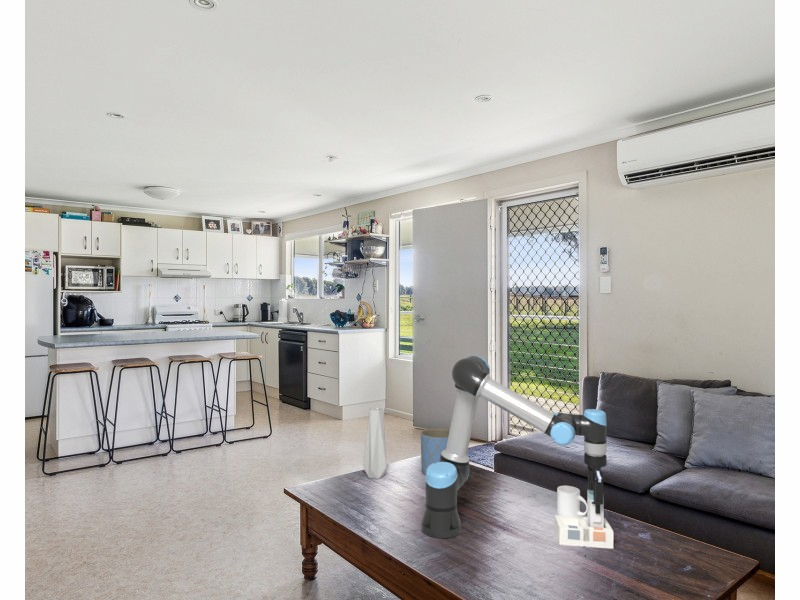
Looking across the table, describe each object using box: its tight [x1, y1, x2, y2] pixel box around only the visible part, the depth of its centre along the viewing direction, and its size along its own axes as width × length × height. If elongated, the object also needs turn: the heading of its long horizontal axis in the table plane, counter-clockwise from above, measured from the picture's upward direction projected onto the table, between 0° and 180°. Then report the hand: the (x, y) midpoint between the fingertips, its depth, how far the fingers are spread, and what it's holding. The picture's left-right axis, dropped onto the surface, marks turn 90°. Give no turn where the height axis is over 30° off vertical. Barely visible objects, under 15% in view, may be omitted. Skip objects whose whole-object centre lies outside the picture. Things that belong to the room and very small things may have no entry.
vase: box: [362, 407, 388, 480], centre depth 245 cm, size 12×12×33 cm
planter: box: [420, 427, 450, 477], centre depth 252 cm, size 19×19×20 cm
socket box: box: [554, 514, 614, 550], centre depth 180 cm, size 18×11×6 cm, turn 82°
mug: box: [556, 485, 587, 517], centre depth 199 cm, size 9×12×11 cm
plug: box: [586, 489, 605, 528], centre depth 180 cm, size 5×5×12 cm
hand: (595, 518), depth 180 cm, fingers closed on plug, 4 cm apart
